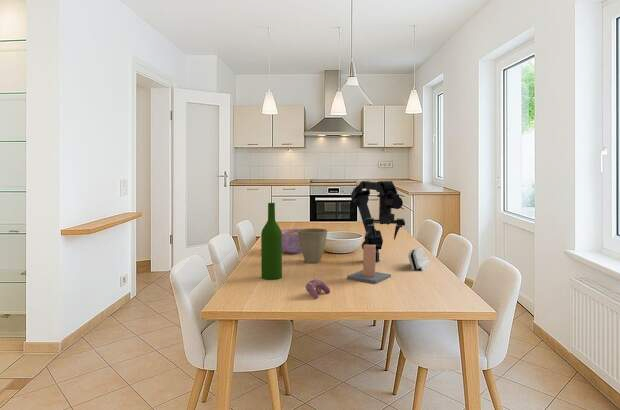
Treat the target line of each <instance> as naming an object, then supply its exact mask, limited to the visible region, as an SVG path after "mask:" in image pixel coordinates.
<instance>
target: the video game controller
mask: <svg viewBox="0 0 620 410" xmlns="http://www.w3.org/2000/svg"><path fill="white" fill-rule="evenodd" d="M305 290H306V292H308V293H309V295H310V296H311V297H313V299H315V300H316V299H318V298H319V295H320V294H322V291H323V292H324V293H325V294H330V293H331V290H330V288H329V286H328V285H327V284H326V283H325V282H324V281H323V280H322V279H321V278H319V279H316V278H314V279H312V280H310V281H308V282H307V283H306V285H305Z"/></svg>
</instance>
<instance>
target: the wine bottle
mask: <svg viewBox="0 0 620 410" xmlns="http://www.w3.org/2000/svg"><path fill="white" fill-rule="evenodd" d="M281 230H282V229H281V228H280V226H279V225H278V223H277V222H276V203H275V202H268V203H267V222H266V223H265V225H264V226H263V228H262V229H261V233H260V236H261V237H260V238H261V239H260V241H261V242H260V243H261V245H260V246H261V250H260V251H261V254H260V255H261V256H260V257H261V261H260V262H261V264H260V265H261V278H262V280H266V281H267V280H268V281H274V280H275V281H276V280H281V279H282V277H283V250H282V232H281Z"/></svg>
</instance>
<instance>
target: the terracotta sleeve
mask: <svg viewBox="0 0 620 410" xmlns="http://www.w3.org/2000/svg"><path fill="white" fill-rule="evenodd" d="M362 251H363V255H362V266H363V267H362V270H363V276H369V277H375V272H376V262H375V253H376V245H366V244H364V246H363V249H362Z"/></svg>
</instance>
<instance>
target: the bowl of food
mask: <svg viewBox="0 0 620 410" xmlns="http://www.w3.org/2000/svg"><path fill="white" fill-rule="evenodd" d="M300 229H301V228H288V229H287V228H286V229H285V228H284V229H281V232H282V251H284V252H286V253H287V254H291V255H292V254H294V255H296V254H301V253H302V251H301V247H300V243H299V237H298V230H300Z"/></svg>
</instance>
